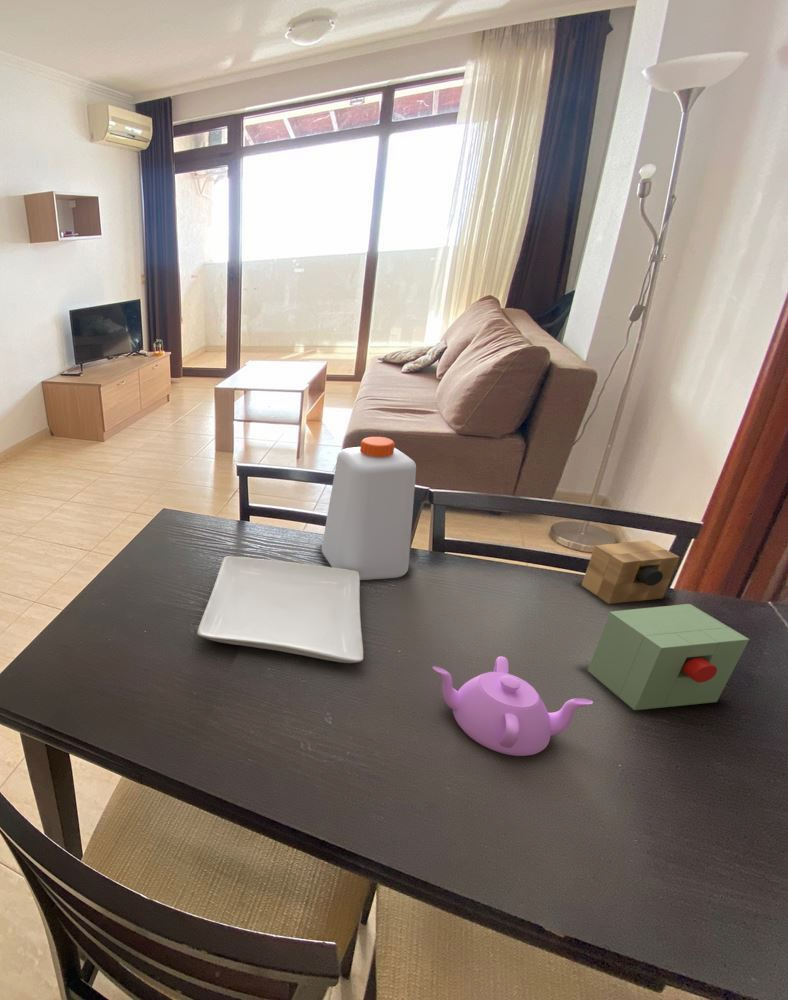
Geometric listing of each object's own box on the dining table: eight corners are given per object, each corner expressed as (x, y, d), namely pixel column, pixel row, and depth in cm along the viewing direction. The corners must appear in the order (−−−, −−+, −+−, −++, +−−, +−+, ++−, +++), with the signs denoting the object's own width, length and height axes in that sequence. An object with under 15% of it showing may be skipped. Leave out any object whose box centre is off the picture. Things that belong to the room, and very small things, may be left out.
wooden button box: (607, 606, 97) (623, 562, 93) (580, 588, 103) (594, 545, 99) (661, 601, 98) (680, 556, 94) (631, 583, 103) (648, 540, 99)
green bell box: (632, 713, 77) (661, 648, 72) (586, 673, 84) (609, 611, 79) (715, 705, 77) (749, 639, 72) (661, 666, 84) (689, 603, 79)
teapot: (575, 749, 72) (594, 701, 69) (489, 777, 70) (504, 728, 66) (499, 687, 83) (512, 642, 79) (422, 709, 80) (431, 663, 77)
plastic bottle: (340, 585, 110) (354, 457, 98) (315, 548, 124) (325, 432, 112) (415, 579, 110) (438, 450, 98) (381, 543, 123) (398, 426, 111)
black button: (642, 586, 94) (648, 572, 93) (634, 581, 96) (640, 567, 94) (659, 585, 94) (665, 570, 93) (651, 580, 96) (656, 565, 94)
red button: (690, 683, 73) (699, 666, 71) (679, 675, 74) (686, 658, 73) (712, 681, 73) (721, 664, 71) (700, 673, 74) (708, 656, 73)
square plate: (224, 568, 119) (224, 553, 117) (358, 585, 110) (360, 568, 108) (196, 648, 96) (195, 631, 95) (361, 678, 87) (364, 659, 85)
